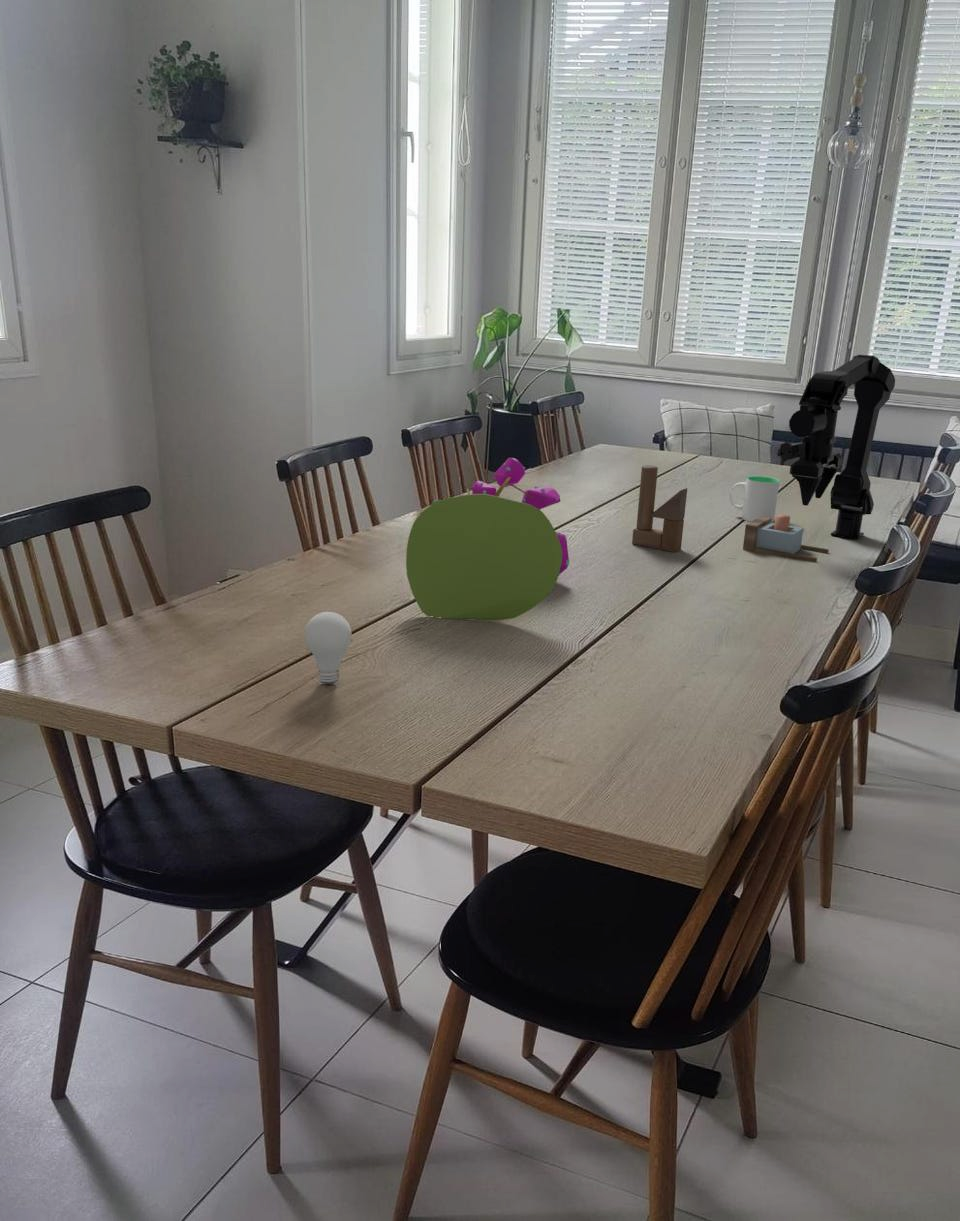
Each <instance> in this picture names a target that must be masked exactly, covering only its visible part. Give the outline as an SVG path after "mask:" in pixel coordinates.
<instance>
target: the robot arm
mask: <svg viewBox="0 0 960 1221" xmlns="http://www.w3.org/2000/svg"><path fill="white" fill-rule="evenodd" d="M851 386H854V390H853V396H854V399H855V401H856V405H857V412H856V416H855V422H854V425H853V430H852V435H851V440H850V445H849V449H848V454H847V459H846V463H845V468H844V469H842V471H841V472H840V473H837V472H838V471H839V470H840V467H841V466H842V464H843V459H844V458H843V456H842V455H841V453H840V452H834V451H833V449H834V443H836V442H837V439H838V437H837V436H835V434H836V427H837V420H838V414H839V413H838V412H839V411H840V410H842V407H841V404H842V402H843V400H844V398H845V397H847V395H848V390H849V388H851ZM895 386H896V378H895V375H894V374H893V372H892V369H891V368H889V367H888V366H886V365H885V364H884V363H883V362H881V361H880V359H879V357H876V356H875V355H871V354H870V355H868V354H857V355H854V356H853V357H852V359H849V361H847V362H845V363H844V364H842V365H840V366H839V367H837V368H836V369H834V370H831V371H830V370H829V371H828V370H826V371H819V372H815V373H814V374H813V375H812V376H811V378H810V379H809V380H808V381H807V384H806V386H805V389H804V391H803V392H802V396H801V397H800V400H799V403H798V405H799V410H797V411H795V412H794V413H793V414H792V415H791V417H790V418H789V420H788V425H789V426H788V427H789V430H790V431H791V433H792V434H793V435H794V436H796V437H798V438H802V441H800V442H796V443H791V442H790V441H788V442H785V443H784V442H783V443H781V444H780V446H779V448H778V449H777V456H778V457H779V458H780V461H781V463H784V462H787V461H789V460H793V459H797V460H795V461H794V462H793V463H791V465H790V466H789V468H790V469H789V474H790V475H791V477H792V478H794V479H795V480H796V481H797V482H798V486H799V490H800V491H799V492H800V495H801V502H802V506H809V503H810V502H811V500H812V498H814V497H815V498H816V499H821V498H822V497H823V495H824V494H825V492H826V489H827V488H828V487H829V484H831V482H832V480H833V478H834V481H833V485H832V487H831V490H830V509H831V510H837V511H838V513H837V518H836V524H835V525H836V526H835V529H834V530H833V531H832V532H831V533H830V536H833V537H840V538H846V539H852V540H859V539H860V538H861V537H863V536H864V535H865V533H864V532H862V531H861V530H862V522H863V516H865V515H872V512H873V510H874V506H875V503H874V499H873V495H872V494H871V493H872V492H871V491H870V489H871V483H872V482H871V479H870V477H869V475H868V472H867V469H868V465H869V464H868V463H869V459H870V456H871V455H870V454H871V449H872V446H873V441H874V440H873V439H874V436H875V431H876V427H877V422H878V419H879V413H880V410H881V409H882V408H883V407H884V405H886V403H887V402H888V401H889V400H890V397H891V394H892V392H893V390H894V388H895ZM834 465H835V466H834ZM813 496H814V497H813Z"/></svg>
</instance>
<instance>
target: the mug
mask: <svg viewBox="0 0 960 1221" xmlns="http://www.w3.org/2000/svg"><path fill="white" fill-rule="evenodd" d="M737 487H743V489H744V498H743V502H742V504H741V505H739V504H736V503H735V501H734V491H735V489H736V488H737ZM779 488H780V479H779V478H778V479H777V478H775V477H769V476H762V475H761V476H760V475H757V476H748V477H746V481H743V482H742V481H741V482H737V483H735V484H734V485H733V486H731V489H730V492H729V501H730V504H731V505H732V506H733V507H734V508H735V509H738V510H741V511H742V514H741V515H742V517H741V519H742V520H744V521H747V522H752V521H754V520H755V519H757V518H759V517H761V516H764V517H770V518H772V519H771V523H775V515H776V509H777V503H778V497H779V496H778V495H779Z"/></svg>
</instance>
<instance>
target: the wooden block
mask: <svg viewBox="0 0 960 1221" xmlns="http://www.w3.org/2000/svg"><path fill="white" fill-rule="evenodd" d="M658 470H659V468H658V466H656V465H652V464H651V465H650V464H649V465H643V466H641V472H640V474H641V475H640V482H639V483H640V485H639V494H638V503H637V504H638V506H637V517H636V525H635V526H636V528H633V530H632V538H631V539H632V540H631V544H632V545H635V544H636V546H641V547H646V548H652V549H657V550H661V551H666V552H671V553H676V552H679V551H680V550H682V542H683V541H682V540H683V534H684V533H683V532H684V522H685V520H684V519H685V515H686V513H685V512H686V506H687V504H686V503H687V497H688V496H687V495H688V487H686V488H683V489H680V490H679V491H678V492H677V493H675V494H674V495H673V496H672V497H670V498H669V499H667V501H666V502H664V503H663V504H662V505H661V506H659V507H658V508H657V509H656V510H655V502H656V492H657V491H656V490H657V481H658V473H659V472H658ZM654 518H657V519H663V526H662V530H661V529H656V528H653V525H654V524H653V522H654Z"/></svg>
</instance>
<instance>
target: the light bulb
mask: <svg viewBox="0 0 960 1221" xmlns="http://www.w3.org/2000/svg"><path fill="white" fill-rule="evenodd" d="M304 641H305V643H306V646H307V648H308V649H309V650H310V652H311V654H312V656H313V657H314V659H315V662H316V669H318V673H317V674H318V675H317V677H318V681H319V682H320V683H321V684H324V685H326V684H331V685H333V684H335V683H338V681H339V678H340V674H339V672H340V671H339V669H340V668H341V662H342V661H341V660H342V658H343V656H344V654H345V653H346V651H347V649H348V648H349V646H350V643H351V641H352V629H351V626H350V624H349V622H348V621H347V620H346V618H345V617H344V616H342V615H341V614H339V613H336V612H333V611H323V612H320V613H317V614H316V615H314V616H313V617H312V618H310V620H309V621H308V623H307V625H306V626H305V630H304Z"/></svg>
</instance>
